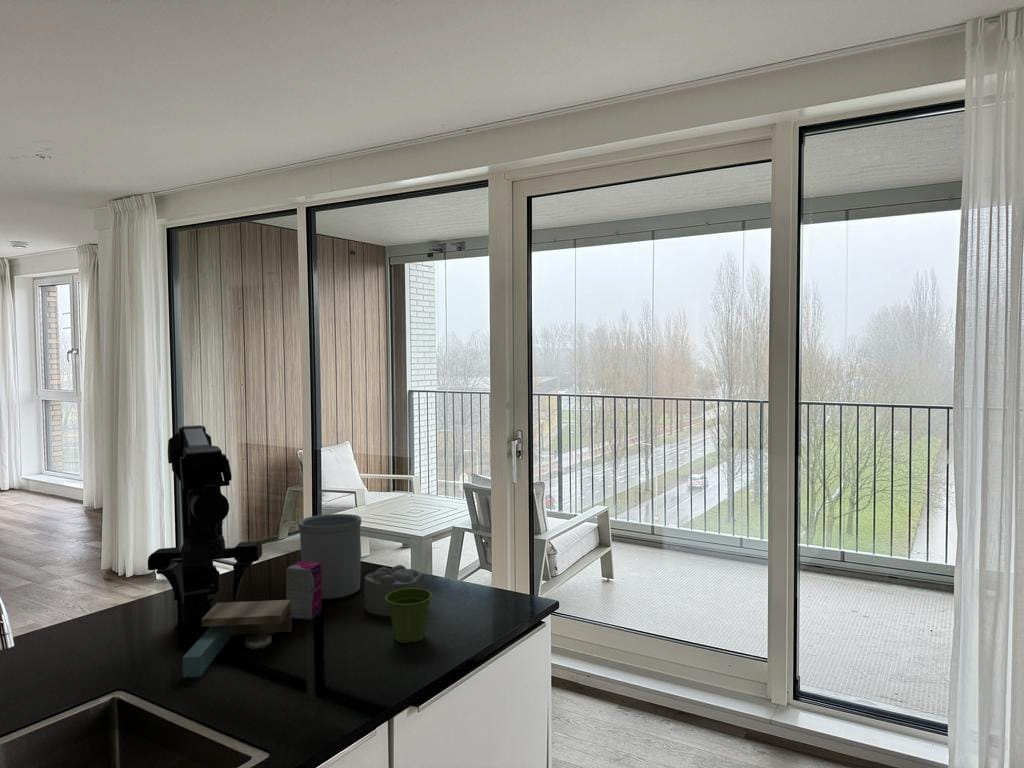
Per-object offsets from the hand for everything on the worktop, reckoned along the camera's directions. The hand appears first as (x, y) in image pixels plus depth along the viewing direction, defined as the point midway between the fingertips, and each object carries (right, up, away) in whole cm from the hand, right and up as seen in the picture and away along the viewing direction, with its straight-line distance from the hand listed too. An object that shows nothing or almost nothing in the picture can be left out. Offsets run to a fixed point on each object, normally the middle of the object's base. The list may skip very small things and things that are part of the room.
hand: (208, 601), depth 128 cm
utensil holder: (+12, -11, +43) cm, 46 cm away
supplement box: (+10, -11, +26) cm, 30 cm away
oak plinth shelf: (+3, -12, +12) cm, 17 cm away
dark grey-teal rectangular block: (-2, -13, +5) cm, 14 cm away
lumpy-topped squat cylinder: (+29, -11, +30) cm, 43 cm away
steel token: (+5, -12, +11) cm, 17 cm away
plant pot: (+35, -12, +13) cm, 39 cm away
